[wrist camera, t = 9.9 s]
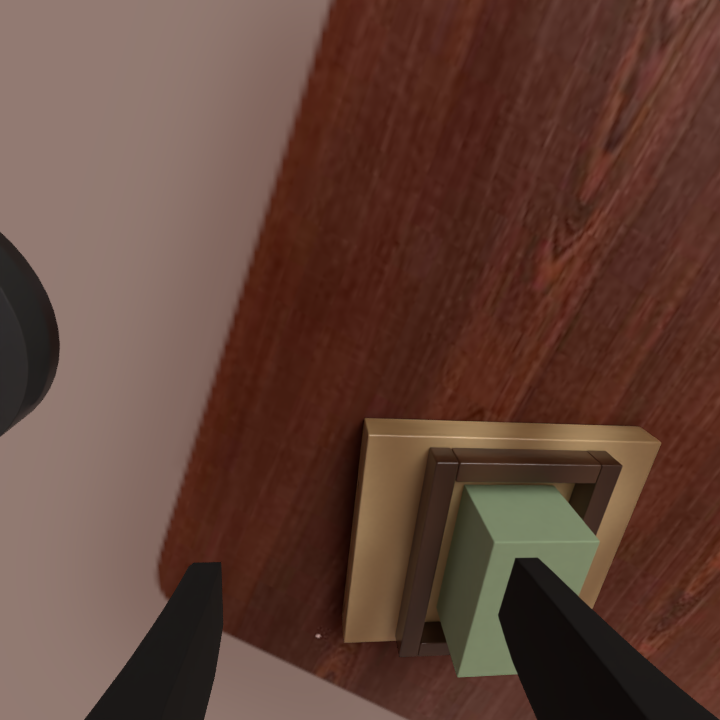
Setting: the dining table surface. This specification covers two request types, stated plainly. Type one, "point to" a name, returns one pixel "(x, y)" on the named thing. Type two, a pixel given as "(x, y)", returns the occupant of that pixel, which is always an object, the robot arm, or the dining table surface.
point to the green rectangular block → (504, 565)
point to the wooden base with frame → (442, 500)
